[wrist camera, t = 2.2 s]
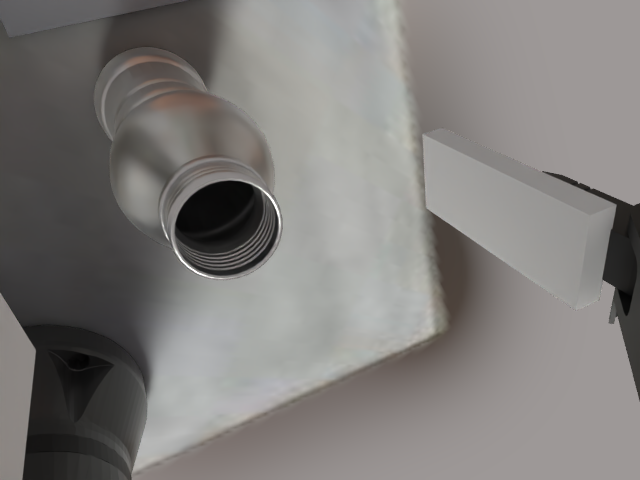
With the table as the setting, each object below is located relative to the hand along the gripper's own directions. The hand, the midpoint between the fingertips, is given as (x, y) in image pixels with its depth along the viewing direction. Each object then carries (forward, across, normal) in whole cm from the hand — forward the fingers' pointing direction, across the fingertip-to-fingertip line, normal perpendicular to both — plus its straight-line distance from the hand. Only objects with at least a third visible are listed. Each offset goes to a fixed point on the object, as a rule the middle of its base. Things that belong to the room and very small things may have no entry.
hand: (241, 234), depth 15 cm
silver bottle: (+21, 0, 0) cm, 21 cm away
